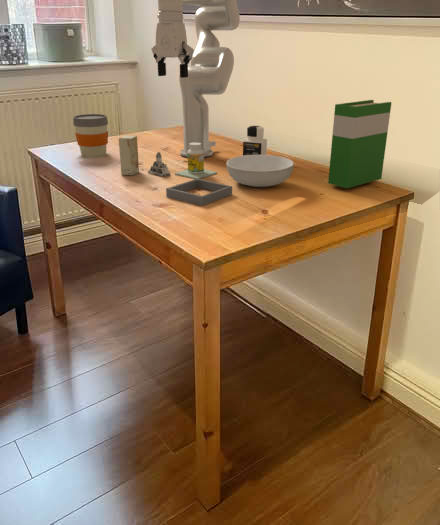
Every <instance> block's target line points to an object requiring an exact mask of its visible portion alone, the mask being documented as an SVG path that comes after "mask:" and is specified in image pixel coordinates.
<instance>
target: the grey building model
mask: <svg viewBox="0 0 440 525" xmlns="http://www.w3.org/2000/svg"><path fill="white" fill-rule="evenodd" d="M162 159H163V158H162V154H161V151H158V152H156V155H155V161H153V164H152V165H151V166H150V169H149V170H147V171H148V174H150V175H153V176H157V177H161V178H162V177H163V178H164V177H167V176H170V175H171V171H169V168H168V165H167V163H165V162H163V160H162Z"/></svg>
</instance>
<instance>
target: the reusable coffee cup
mask: <svg viewBox="0 0 440 525" xmlns="http://www.w3.org/2000/svg"><path fill="white" fill-rule="evenodd" d="M107 116H108V115H105V114H101V113H100V114H99V113H86V114H78V115H74V116H73V117H72V118H73V122H72V123H73V124H72V125H73V126H74V129H75V132H74V135H75V138H76V142H77V146H78V147H79V151H80V154H81V157H84V158H92V159H93V158H101V157H105V156H106V155H107V144H108V142H109V140H108V139H109V131H108V124H109V122H108V117H107Z"/></svg>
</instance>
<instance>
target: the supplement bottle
mask: <svg viewBox="0 0 440 525" xmlns="http://www.w3.org/2000/svg"><path fill="white" fill-rule="evenodd" d="M189 148H190V150H188V152H187V155H188V157H187V170H188V172H189V173H190V174H201V173H203V172H204V170H205V157H204V152H203V150H202V149H201V143H189Z"/></svg>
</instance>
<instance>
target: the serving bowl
mask: <svg viewBox="0 0 440 525" xmlns="http://www.w3.org/2000/svg"><path fill="white" fill-rule="evenodd" d="M294 163H295V162H294V161H293V160H292V159H289V158H288V157H284V156H281V155H271V154H266V155H244V156H243V155H239V156H234V157H232V158H229V159H227V161H226V164H225V166H226V170H227V173H228V174H229V176H230V178H232V180H234V181H235V182H237V183H239V184H241V185H245V186H247V187H248V186H249V187H253V188H268V187H272V186H277V185H279V184H282V183H284V182H285V181H287V180H288V179H289V178H290V176H291V174H292V173H293V169H294V165H295V164H294Z"/></svg>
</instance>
